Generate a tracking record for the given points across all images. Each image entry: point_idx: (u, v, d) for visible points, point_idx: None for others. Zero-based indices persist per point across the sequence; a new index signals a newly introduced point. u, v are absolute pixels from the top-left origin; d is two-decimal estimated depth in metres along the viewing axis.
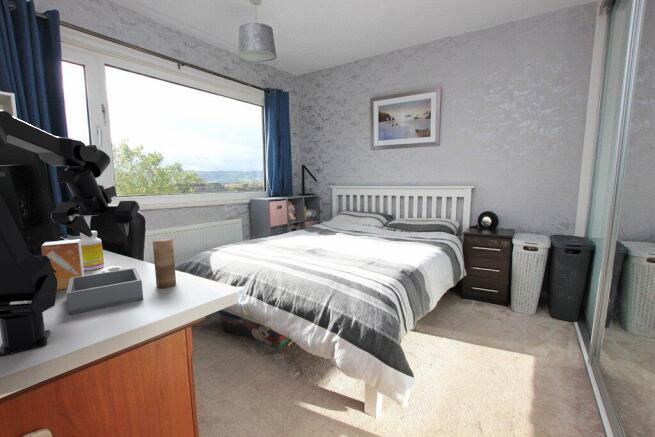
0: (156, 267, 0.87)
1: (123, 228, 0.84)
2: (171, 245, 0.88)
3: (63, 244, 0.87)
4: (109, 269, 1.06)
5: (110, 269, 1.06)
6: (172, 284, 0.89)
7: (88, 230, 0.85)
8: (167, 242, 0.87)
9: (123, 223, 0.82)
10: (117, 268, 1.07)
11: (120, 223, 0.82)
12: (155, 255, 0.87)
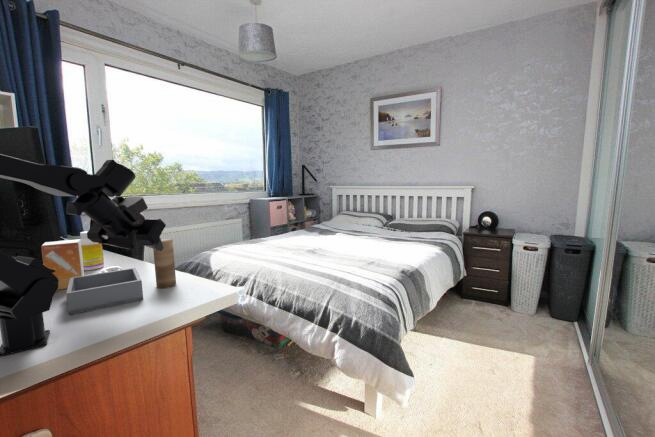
0: (156, 267, 0.87)
1: (152, 247, 0.78)
2: (171, 245, 0.88)
3: (63, 244, 0.87)
4: (108, 269, 1.05)
5: (109, 269, 1.06)
6: (172, 284, 0.89)
7: (128, 243, 0.83)
8: (167, 242, 0.87)
9: (148, 245, 0.75)
10: (116, 268, 1.07)
11: (145, 245, 0.75)
12: (155, 255, 0.87)
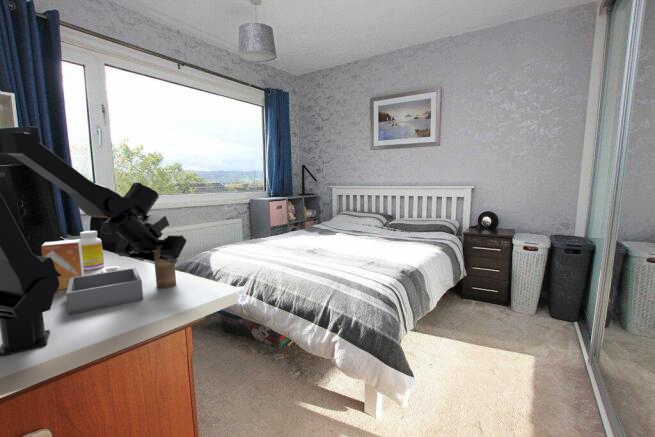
0: (156, 267, 0.87)
1: (168, 260, 0.85)
2: None
3: (63, 244, 0.87)
4: (108, 269, 1.05)
5: (109, 269, 1.06)
6: (172, 284, 0.89)
7: None
8: None
9: (164, 259, 0.83)
10: (116, 268, 1.07)
11: (162, 259, 0.83)
12: (155, 255, 0.87)
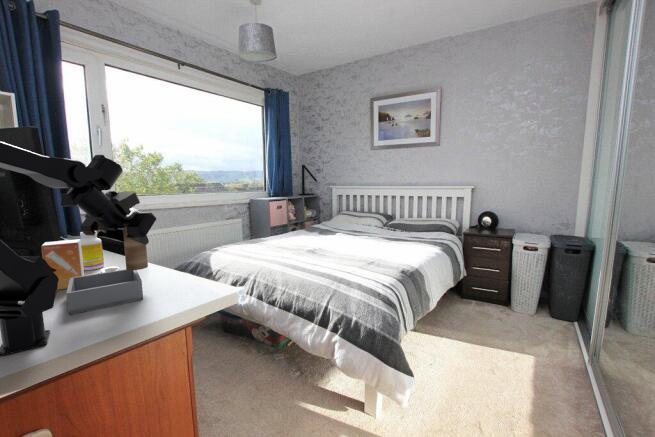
0: (125, 247, 0.82)
1: (137, 240, 0.80)
2: None
3: (63, 244, 0.87)
4: (107, 269, 1.05)
5: (108, 269, 1.06)
6: (143, 266, 0.84)
7: None
8: None
9: (132, 237, 0.77)
10: (115, 268, 1.06)
11: (130, 237, 0.78)
12: (124, 235, 0.82)
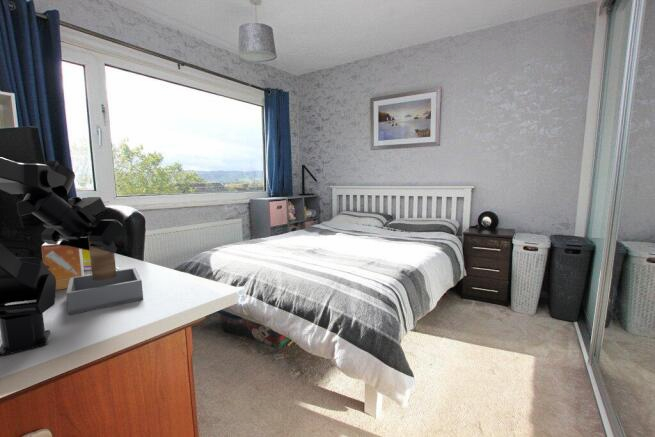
0: (91, 256, 0.77)
1: (102, 249, 0.76)
2: None
3: None
4: None
5: None
6: (110, 276, 0.79)
7: None
8: None
9: (96, 246, 0.73)
10: None
11: (94, 246, 0.73)
12: (89, 243, 0.77)
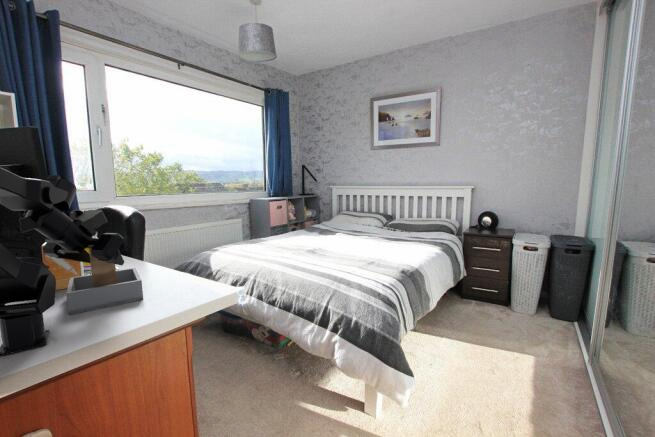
0: (93, 275, 0.78)
1: (110, 262, 0.76)
2: None
3: None
4: None
5: None
6: None
7: (88, 257, 0.81)
8: None
9: (104, 260, 0.73)
10: None
11: (102, 260, 0.73)
12: (91, 261, 0.78)
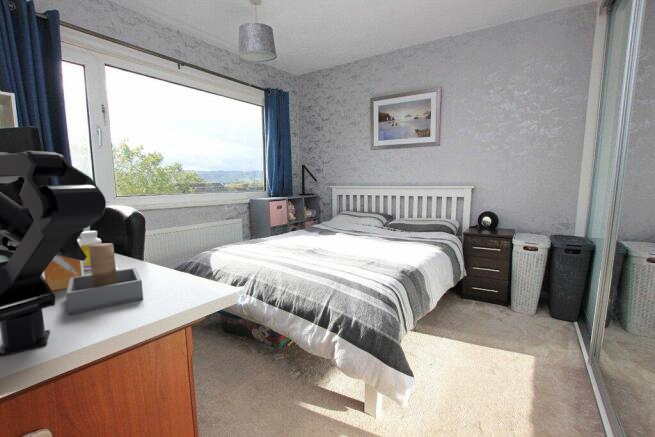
0: (93, 275, 0.78)
1: (67, 257, 0.66)
2: (110, 250, 0.79)
3: None
4: None
5: None
6: None
7: None
8: (105, 247, 0.78)
9: (58, 254, 0.63)
10: None
11: (56, 254, 0.63)
12: (91, 261, 0.78)
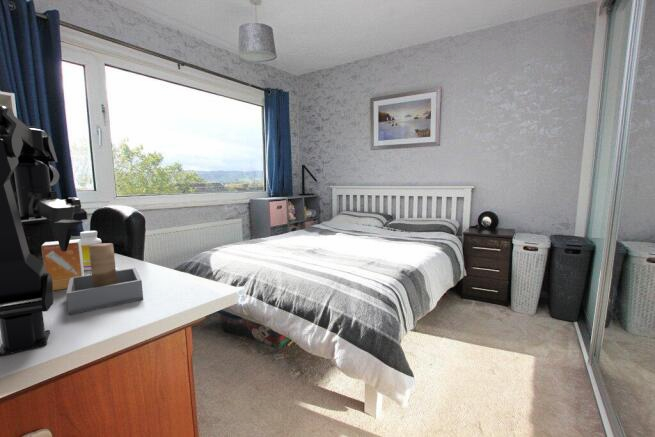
0: (93, 275, 0.78)
1: None
2: (110, 250, 0.79)
3: None
4: None
5: None
6: None
7: (62, 243, 0.76)
8: (105, 247, 0.78)
9: None
10: None
11: None
12: (91, 261, 0.78)
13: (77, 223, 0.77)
